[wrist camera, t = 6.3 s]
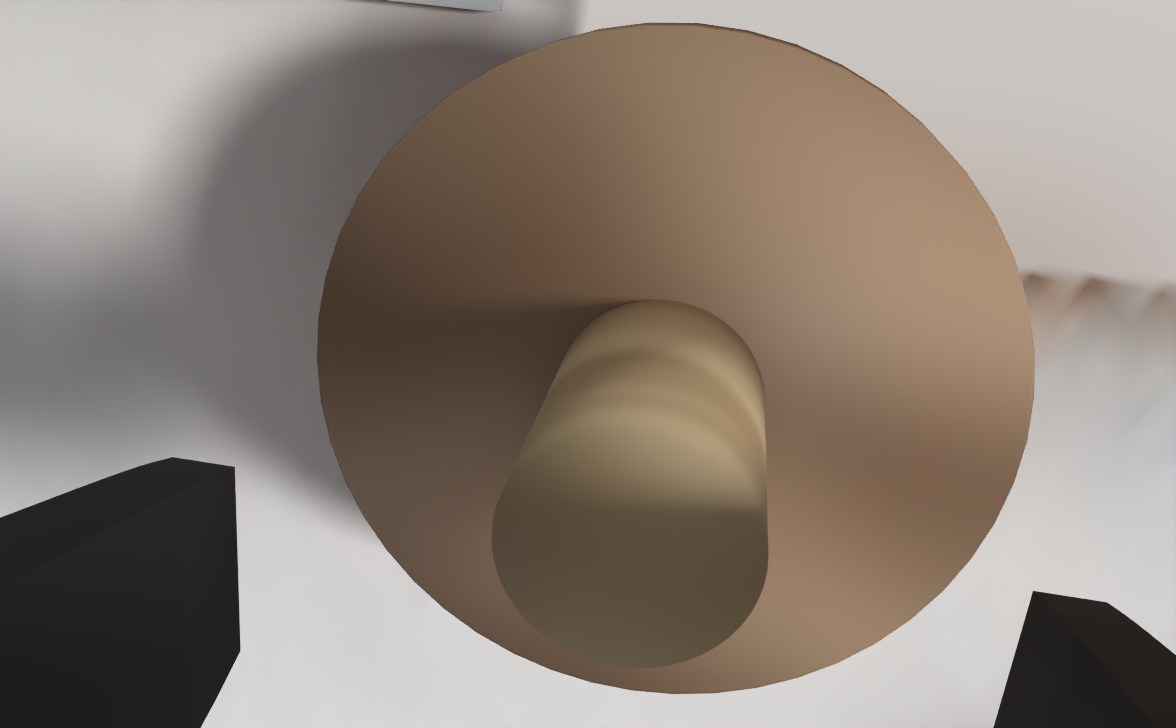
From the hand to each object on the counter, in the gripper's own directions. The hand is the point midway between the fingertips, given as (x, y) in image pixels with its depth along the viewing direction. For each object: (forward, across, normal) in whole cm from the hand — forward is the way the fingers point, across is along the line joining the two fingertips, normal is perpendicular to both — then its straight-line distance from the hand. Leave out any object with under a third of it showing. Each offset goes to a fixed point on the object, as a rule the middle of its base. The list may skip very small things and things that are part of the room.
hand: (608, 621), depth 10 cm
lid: (+6, 0, 0) cm, 6 cm away
